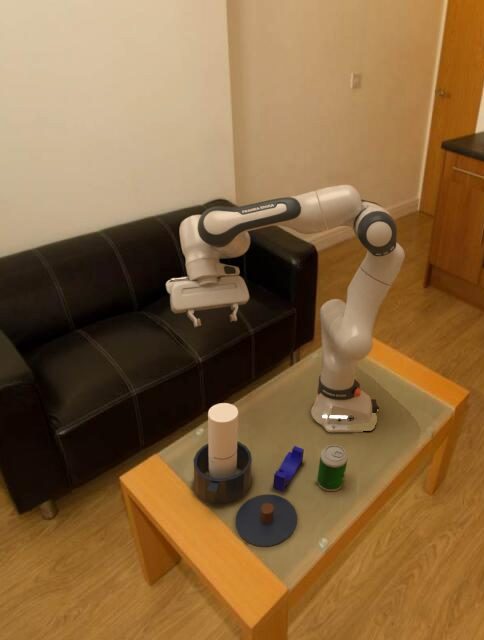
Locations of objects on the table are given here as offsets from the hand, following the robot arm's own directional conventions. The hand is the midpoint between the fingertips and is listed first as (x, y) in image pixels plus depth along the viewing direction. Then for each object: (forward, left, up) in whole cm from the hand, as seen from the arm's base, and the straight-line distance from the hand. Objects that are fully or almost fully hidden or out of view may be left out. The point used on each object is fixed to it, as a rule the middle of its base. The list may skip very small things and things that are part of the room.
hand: (216, 323), depth 131 cm
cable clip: (-23, +12, -40) cm, 48 cm away
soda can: (-36, +13, -40) cm, 55 cm away
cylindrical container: (-7, +18, -39) cm, 44 cm away
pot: (-7, +18, -40) cm, 44 cm away
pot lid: (-21, +28, -39) cm, 52 cm away
